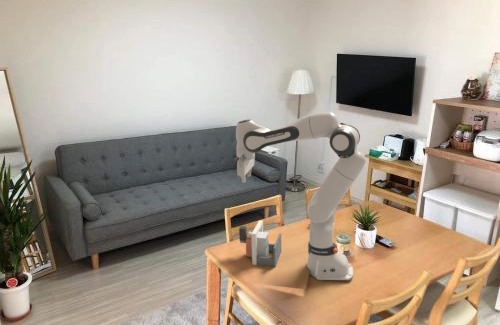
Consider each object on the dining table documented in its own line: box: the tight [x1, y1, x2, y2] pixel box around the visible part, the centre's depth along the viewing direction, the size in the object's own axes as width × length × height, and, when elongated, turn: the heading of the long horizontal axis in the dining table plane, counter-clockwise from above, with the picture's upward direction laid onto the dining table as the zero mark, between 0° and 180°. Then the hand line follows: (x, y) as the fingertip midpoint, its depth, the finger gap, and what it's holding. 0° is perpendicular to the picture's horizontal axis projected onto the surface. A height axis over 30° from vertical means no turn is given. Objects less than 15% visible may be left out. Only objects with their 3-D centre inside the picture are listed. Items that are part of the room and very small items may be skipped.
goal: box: [251, 220, 282, 268], centre depth 193 cm, size 12×16×16 cm
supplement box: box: [251, 231, 270, 257], centre depth 194 cm, size 7×7×13 cm
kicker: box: [238, 225, 253, 258], centre depth 196 cm, size 7×5×14 cm
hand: (246, 179), depth 193 cm, fingers open, 8 cm apart
